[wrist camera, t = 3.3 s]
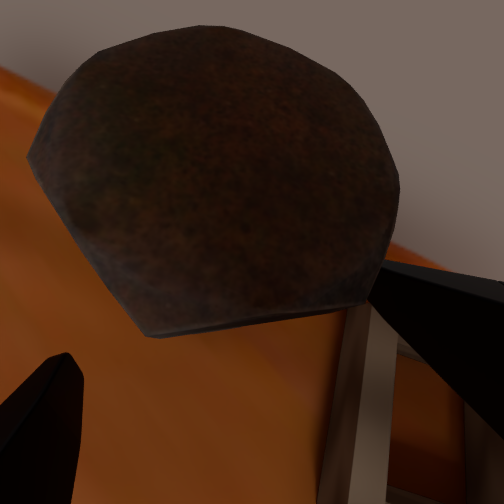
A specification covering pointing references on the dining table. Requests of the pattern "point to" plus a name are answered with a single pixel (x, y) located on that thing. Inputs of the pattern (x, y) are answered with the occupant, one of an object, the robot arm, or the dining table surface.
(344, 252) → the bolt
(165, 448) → the dining table surface
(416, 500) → the socket block
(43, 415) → the robot arm
